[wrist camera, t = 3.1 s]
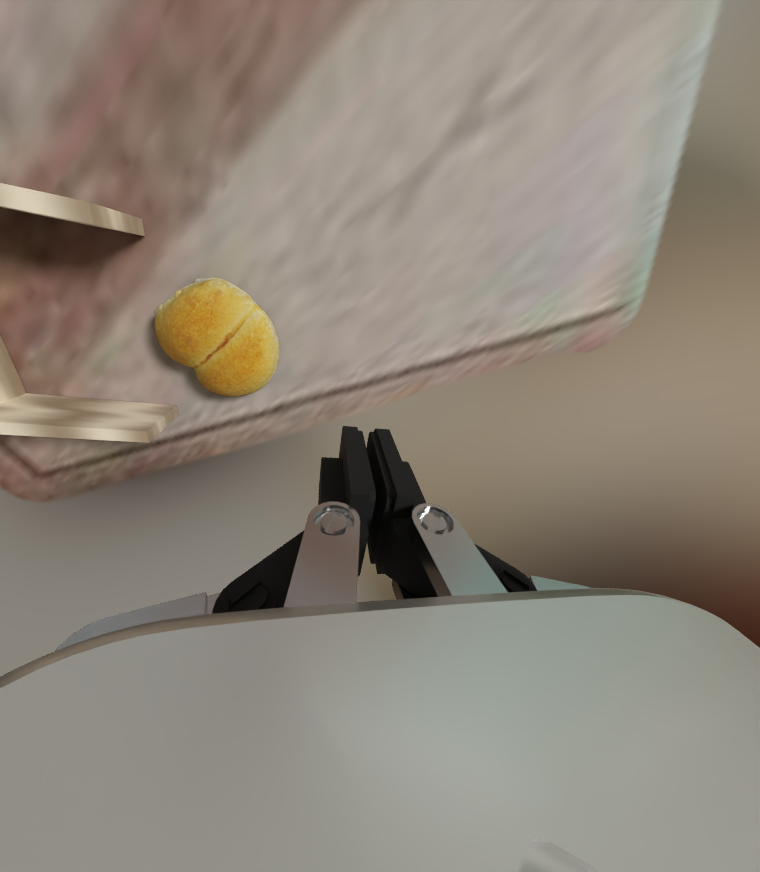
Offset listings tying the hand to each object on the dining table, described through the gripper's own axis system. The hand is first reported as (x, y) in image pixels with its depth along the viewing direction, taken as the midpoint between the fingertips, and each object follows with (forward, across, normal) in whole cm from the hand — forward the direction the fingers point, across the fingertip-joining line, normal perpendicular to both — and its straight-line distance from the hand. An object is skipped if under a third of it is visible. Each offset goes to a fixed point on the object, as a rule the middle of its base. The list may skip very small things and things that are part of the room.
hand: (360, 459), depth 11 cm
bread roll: (+18, +10, 0) cm, 20 cm away
